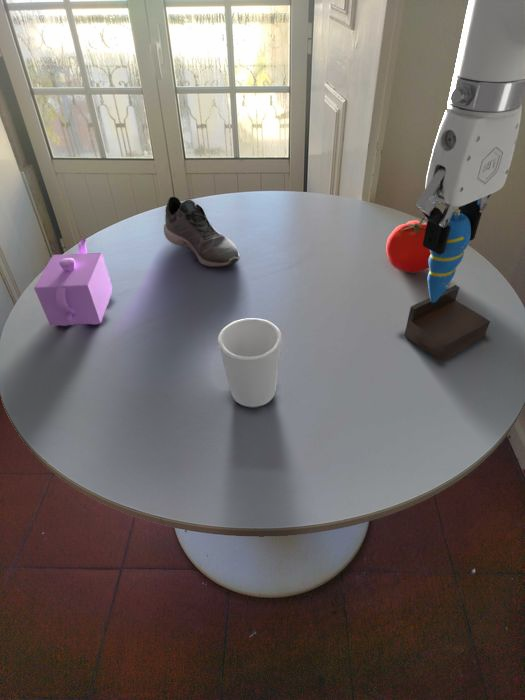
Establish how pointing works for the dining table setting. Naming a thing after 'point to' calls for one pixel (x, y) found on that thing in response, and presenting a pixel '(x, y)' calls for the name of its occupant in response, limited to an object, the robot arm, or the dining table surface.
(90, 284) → the teapot
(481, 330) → the shelf
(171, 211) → the athletic shoe
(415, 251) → the tomato
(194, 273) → the dining table surface
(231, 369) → the cup
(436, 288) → the ornament
